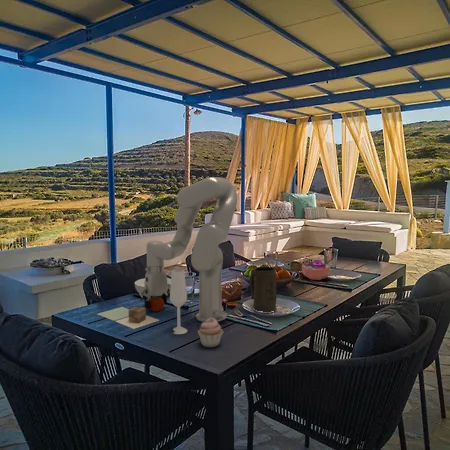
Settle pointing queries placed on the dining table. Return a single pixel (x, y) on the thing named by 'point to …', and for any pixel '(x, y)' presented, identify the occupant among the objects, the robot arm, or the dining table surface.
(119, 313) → the pale sage mat
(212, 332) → the cupcake
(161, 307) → the fruit
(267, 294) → the beer stein
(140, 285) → the serving bowl
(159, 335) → the dining table surface
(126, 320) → the cream mat
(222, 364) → the dining table surface
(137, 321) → the walnut block
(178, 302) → the champagne flute
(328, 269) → the cell model
